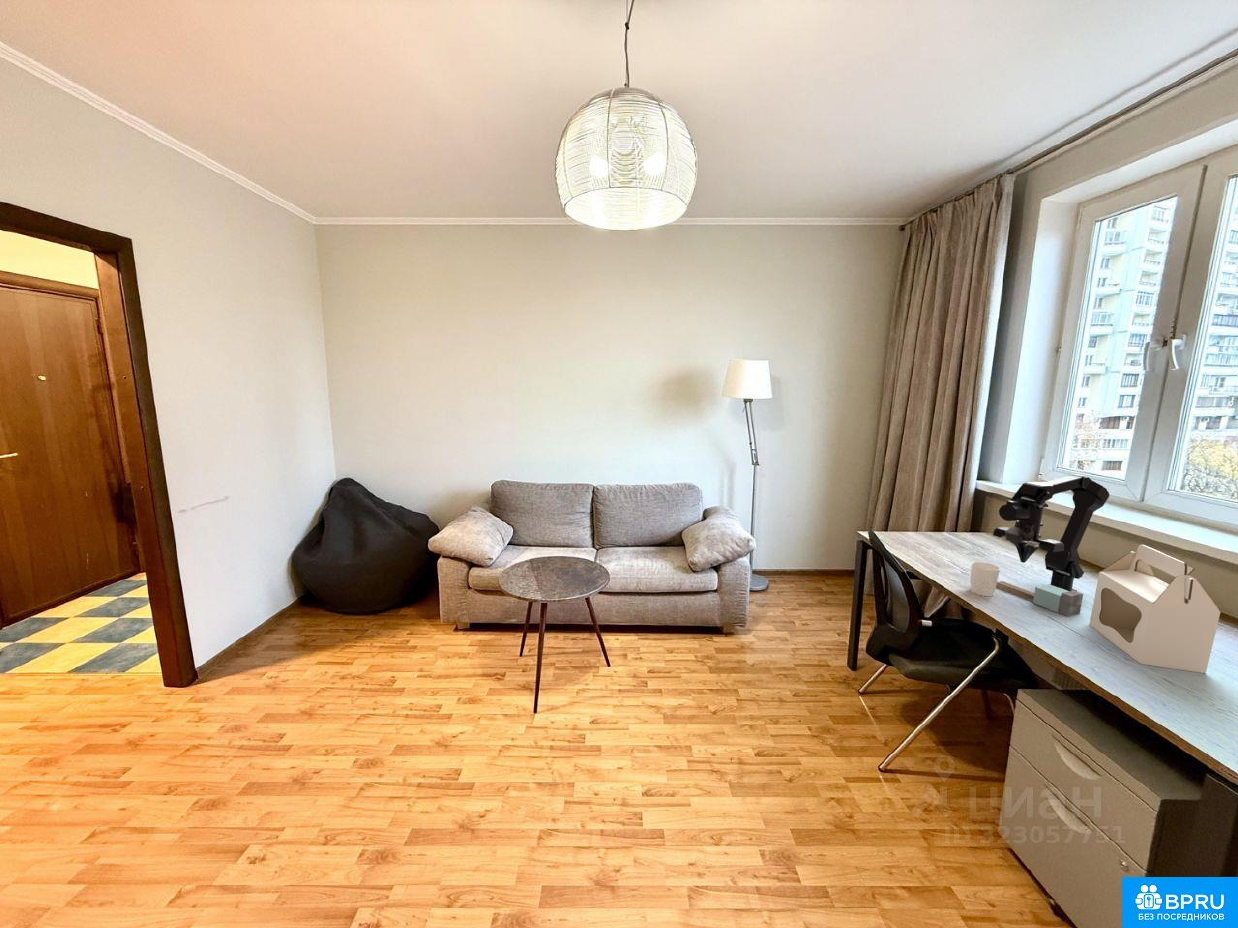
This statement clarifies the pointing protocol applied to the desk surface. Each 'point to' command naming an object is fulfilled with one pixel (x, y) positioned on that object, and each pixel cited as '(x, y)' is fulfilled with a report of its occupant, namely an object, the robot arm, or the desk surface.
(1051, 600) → the block
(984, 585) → the white cup
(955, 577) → the desk surface
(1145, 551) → the gable box
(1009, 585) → the rail
